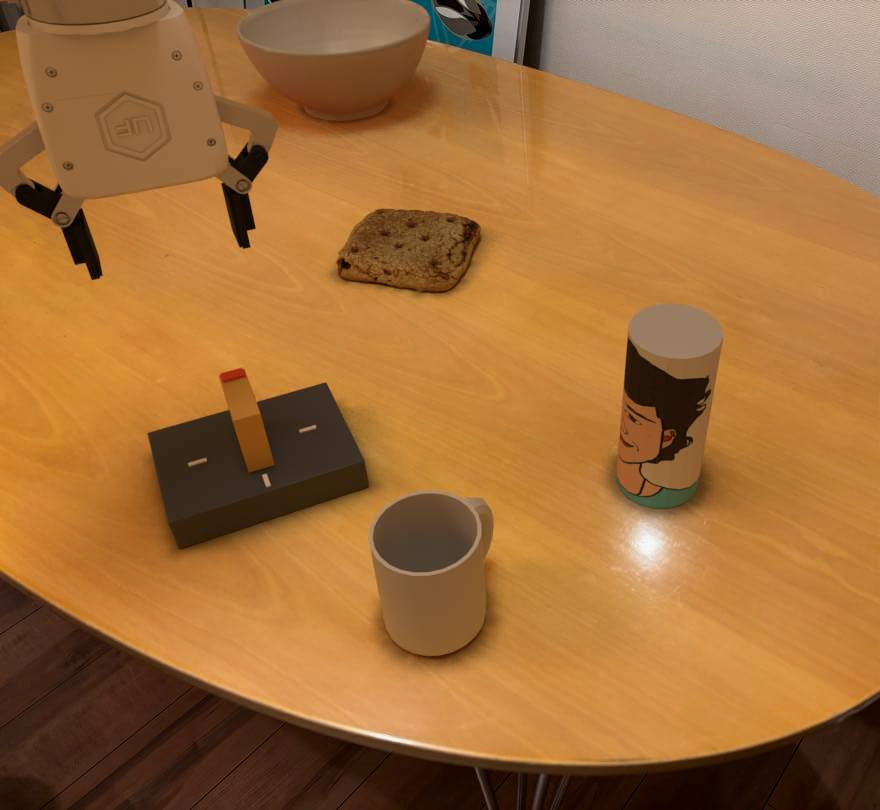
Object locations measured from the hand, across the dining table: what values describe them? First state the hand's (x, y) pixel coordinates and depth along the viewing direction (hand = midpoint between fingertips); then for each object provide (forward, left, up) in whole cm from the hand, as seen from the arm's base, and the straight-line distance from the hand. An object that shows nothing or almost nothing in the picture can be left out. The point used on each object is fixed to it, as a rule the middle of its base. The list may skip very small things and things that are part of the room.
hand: (170, 254), depth 61 cm
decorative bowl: (+31, +70, -20) cm, 79 cm away
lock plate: (+2, -2, -20) cm, 20 cm away
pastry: (+25, +25, -20) cm, 41 cm away
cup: (+11, -21, -20) cm, 31 cm away
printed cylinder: (+31, -17, -20) cm, 41 cm away
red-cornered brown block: (+2, -2, -17) cm, 17 cm away
